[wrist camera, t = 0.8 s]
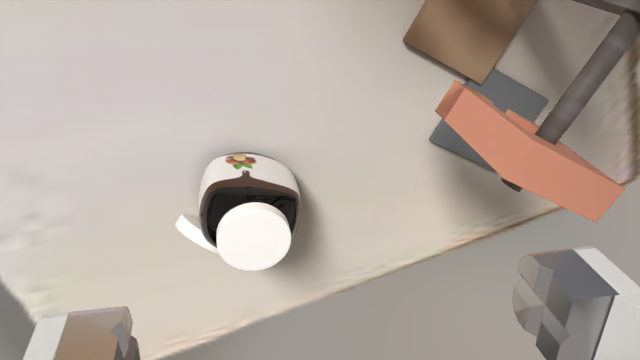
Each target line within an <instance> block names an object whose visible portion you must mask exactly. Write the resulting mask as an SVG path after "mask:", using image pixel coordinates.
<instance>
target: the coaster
mask: <svg viewBox="0 0 640 360" xmlns="http://www.w3.org/2000/svg"><path fill="white" fill-rule="evenodd" d="M465 86H467V87H469V88H471V89H473V90H475V91H476V92H478V93H480V94H482V95H483V96H485V97H486V98H487V99H489V100H490V101H491V102H493V105H494V106H495V107H497V108H498V109H499V110H501V111H502V112H503V113H504V114H505V113H506V112H507V110H508V109H509V110H511V111H513V112H515V113H517V114H519V115H520V116H522V117H524V118H526V119H528V120H530V121H531V122H534V120H535V119H536V117H537V116H538V115H539V113H540V112H541V111H542V109H543V108H544V106H545V105H546V104H547V102H548V101H549V100H548V99H546V98H544V97H543V96H541V95H539V94H537V93H536V92H534V91H532V90H530V89H529V88H527V87H525V86H524V85H522V84H520V83H518V82H517V81H515V80H513V79H511V78H510V77H508V76H506V75H504V74H503V73H501V72H499V71H497V70H496V69H494V68H492V69H491V71H490V72H489V74H488V75H487V77H486V78H485V80H484V81H483V83H482V84H480V83H478V82H476V81H474V80H473V79H471V78H469V79H468V80H467V82H466V83H465ZM429 140H430V141H432V142H434V143H436V144H438V145H440V146H442V147H444V148H446V149H448V150H451V151H453V152H455V153H457V154H459V155H461V156H463V157H465V158H467V159H469V160H471V161H474V162H476V163H478V164H480V165H482V166H484V167H486V168H488V169H490V170H492V171H494V172H497V171H495V170H494V169H493V168H492V167H491V166H490V165H489V164H488V163H487V162H486V161H485V160H484V159H483V158H482V157H481V156H480V155H479V154H478V153H477V152H476V151H475V150H474V149H473V148H472V147H471V146H470V145H469V144H468V143H467V142H466V141H465V140H464V139H463V138H462V137H461V136H460V135H459V134H458V133H457V132H456V131H455V130H454V129H453V128H452V127H451V126H450V125H449V124H448V123H447V122H446V121H445V120H444V119H443V118H442V120H441V121H440V123H439V124H438V126H437V128H436V129H435V131H434V132H433V134H432V135H431V137H430V138H429Z"/></svg>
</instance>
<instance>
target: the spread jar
mask: <svg viewBox="0 0 640 360" xmlns="http://www.w3.org/2000/svg"><path fill="white" fill-rule="evenodd" d="M300 213H301V198H300V193H299V189H298V186H297V183H296V180H295V178H294V176H293V174H292V172H291V171H290V170H289V169H288V168H287V167H286V166H285V165H283V164H282V163H280V162H278V161H276V160H274V159H272V158H270V157H267V156H264V155H261V154H257V153H252V152H238V153H231V154H227V155H223V156H220V157H218V158H216V159H214V160H213V161H212V162H211V163H210V164H209V165H208V167H207V168H206V170H205V172H204V174H203V177H202V181H201V185H200V190H199V204H198V215H199V217H196V216H194V215H191V214H187V213H182V214H181V216H180V218H179V219H178V221H177V223H176V228H177V229H178V230H179V231H180V232H181V233H182V234H184V235H185V236H186V237H188V238H189V239H191V240H192V241H194V242H195V243H197V244H199V245H200V246H202V247H204V248H206V249H208V250H210V251H212V252H214V253H217V254H219V255H220V256H221V257H222V259H223V260H224V261H225V262H226V263H228V264H229V265H230V266H232V267H234V268H236V269H240V270H244V271H259V270H264V269H267V268H269V267H271V266H273V265H275V264H277V263H278V262H279V261H281V260H282V258H283V257H284V256H285V255H286V254H287V252H288V250H289V248H290V245H291V240H292V239H293V237H294V235H295V233H296V230H297V228H298V224H299V219H300Z"/></svg>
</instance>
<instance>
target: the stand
mask: <svg viewBox="0 0 640 360" xmlns="http://www.w3.org/2000/svg"><path fill="white" fill-rule="evenodd" d="M573 1H576V2H580V3H583V4H586V5H589V6H592V7H596V8H599V9H602V10H605V11H608V12H612V13H615V14H618V15H621V17H620V18H619V20H618V21H617V22H616V24H615V25H614V26H613V28H612V29H611V31H610V32H609V33H608V35H607V36H606V37H605V39H604V40H603V41H602V43H601V44H600V46H599V47H598V48H597V50H596V51H595V52H594V54H593V55H592V56H591V58H590V59H589V61H588V62H587V63H586V65H585V66H584V67H583V69H582V70H581V71H580V73H579V74H578V76H577V77H576V78H575V80H574V81H573V82H572V84H571V85H570V86H569V88H568V89H567V91H566V92H565V93H564V95H563V96H562V97H561V99H560V100H559V101H558V103H557V104H556V106H555V107H554V108H553V110H552V111H551V112H550V114H549V115H548V116H547V118H546V119H545V121H544V122H543V123H542V125H541V126H540V127H539V129H538V130H537V131H536V133H535V134H534V135H536V136H538V137H540V138H542V139H544V140H546V141H548V142H549V143H551V144H553V145H555V144H556V143H557V142H558V140H559V139H560V138H561V136H562V135H563V134H564V132H565V131H566V130H567V128H568V127H569V126H570V124H571V123H572V122H573V120H574V119H575V118H576V117H577V115H578V114H579V113H580V111H581V110H582V109H583V107H584V106H585V105H586V103H587V102H588V101H589V99H590V98H591V97H592V95H593V94H594V93H595V91H596V90H597V89H598V87H599V86H600V85H601V83H602V82H603V81H604V79H605V78H606V77H607V75H608V74H609V73H610V72H611V70H612V69H613V68H614V66H615V65H616V64H617V62H618V61H619V60H620V58H621V57H622V56H623V54H624V53H625V52H626V50H627V49H628V48H629V46H630V45H631V44H632V42H633V41H634V40H635V38H636V37H637V36H638V34H639V33H640V0H573ZM536 2H537V0H426V1H425V3H424V5H423V6H422V8H421V10H420V11H419V13H418V15H417V17H416V18H415V20H414V22H413V23H412V25H411V27H410V28H409V30H408V32H407V34H406V35H405V37H404V39H403V41H405V42H406V43H408V44H409V45H411V46H413V47H415V48H417V49H418V50H420V51H422V52H424V53H426V54H427V55H429V56H431V57H433V58H435V59H436V60H438V61H440V62H442V63H444V64H445V65H447V66H449V67H451V68H453V69H454V70H456V71H458V72H460V73H462V74H463V75H465V76H467V77H469V78H471V79H473V80H474V81H476V82H478V83H480V84H482V83H483V81H484V80H485V78H486V77H487V75H488V74H489V72H490V71H491V69H492V68H493V66H494V65H495V63H496V62H497V60H498V59H499V57H500V56H501V54H502V53H503V51H504V50H505V48H506V47H507V45H508V44H509V42H510V41H511V39H512V38H513V36H514V35H515V33H516V32H517V30H518V29H519V27H520V26H521V24H522V23H523V21H524V20H525V18H526V17H527V15H528V14H529V12H530V11H531V9H532V8H533V6H534V5H535V3H536ZM501 180H502V181H503V182H504V183H505V184H506V185H507V186H509V187H510V188H512V189H514V190H516V191H518V192H520V191H521V189H522V187H520V186H518V185H516V184H514V183H512V182H510V181H507V180H505V179H504V178H502V179H501Z"/></svg>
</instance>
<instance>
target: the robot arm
mask: <svg viewBox="0 0 640 360" xmlns="http://www.w3.org/2000/svg"><path fill="white" fill-rule="evenodd" d="M518 271H519V273H520V275H521V276H522V277H523V278H522V279H521V280H520V281H519V282H518V283H517V285H516V286H515V287H514V292H513V298H512V301H513V307H514V312H515V315H516V317H517V319H518V321H519V323H520V324H521V326H522V327H523V329H524V330H526V331H527V332H530V333H531V334H533V335H535V336H537V339H536V346H537V348H538V349H539V350H540V352H541V353H542V354H543V356H544V357H545V358H546V360H640V287H639V286H637V285H636V284H635V283H634V282H633V281H632V280H631V279H630V278H629V277H627V276H626V275H625V274H624V273H623V272H622V271H621V270H620V269H619V268H618V267H616V266H615V265H614V264H613V263H612V262H611V261H610V260H609V259H608V258H606V257H605V256H604V255H603V254H602V253H601V252H600V251H598V249H596V248H595V247H592V246H589V245H588V246H581V247H575V248H568V249H566V250H557V251H550V252H543V253H536V254H528V255H524V256H523V257H522V259H521V260H520V263H519V268H518ZM132 323H133V321H132V318H131V314H130V310H129V308H128V307H127V306H122V307H113V308H103V309H94V310H85V311H75V312H72V313H61V314H52V315H44V316H43V317H42V318H41V319H39V321H38V322H37V325H36V327H35V330H34V333H33V335H32V338H31V340H30V343H29V345H28V348H27V350H26V353H25V355H24V358H23V360H140V355H139V347H138V343H137V339H136V338H134V337H133V336H131V329H132Z"/></svg>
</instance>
